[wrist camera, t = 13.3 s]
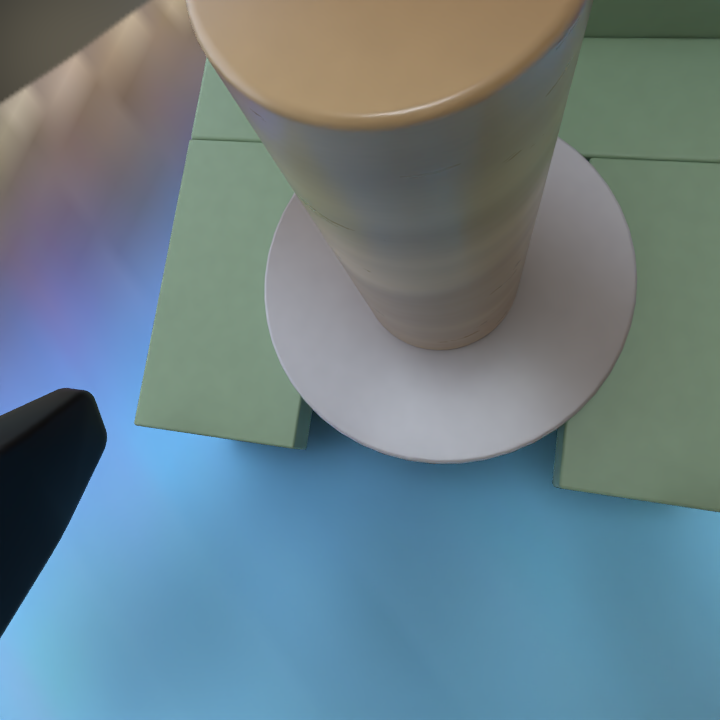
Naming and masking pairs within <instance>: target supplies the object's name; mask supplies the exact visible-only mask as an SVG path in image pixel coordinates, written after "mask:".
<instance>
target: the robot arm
mask: <svg viewBox="0 0 720 720" xmlns="http://www.w3.org/2000/svg"><path fill="white" fill-rule="evenodd" d="M106 442H107V433H106V429H105V426H104V423H103V421H102V418H101V415H100V412H99V409H98V407H97V404H96V401H95V399H94V397H93V395H92V394H91V393H90V392H88V391H85V390H78V389H70V388H62V389H58V390H56V391H54V392H51V393H49V394H47V395H45V396H43V397H41V398H38V399H36V400H34V401H32V402H30V403H27V404H25V405H23V406H21V407H19V408H16V409H14V410H12V411H10V412H8V413H6V414H3V415H1V416H0V638H1V636H2V635H3V633H4V631H5V630H6V628H7V626H8V625H9V623H10V622H11V620H12V618H13V617H14V615H15V613H16V612H17V610H18V608H19V607H20V605H21V604H22V602H23V600H24V599H25V597H26V595H27V594H28V592H29V590H30V589H31V587H32V586H33V584H34V582H35V581H36V579H37V577H38V576H39V574H40V573H41V571H42V569H43V568H44V566H45V564H46V563H47V561H48V559H49V558H50V556H51V555H52V553H53V551H54V549H55V548H56V546H57V544H58V543H59V541H60V539H61V537H62V535H63V533H64V531H65V530H66V528H67V526H68V524H69V522H70V520H71V518H72V516H73V514H74V511H75V509H76V507H77V505H78V503H79V501H80V499H81V497H82V495H83V493H84V491H85V489H86V487H87V485H88V482H89V480H90V478H91V476H92V474H93V472H94V470H95V468H96V466H97V464H98V462H99V460H100V458H101V456H102V453H103V451H104V449H105V446H106Z"/></svg>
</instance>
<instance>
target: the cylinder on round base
mask: <svg viewBox="0 0 720 720" xmlns="http://www.w3.org/2000/svg"><path fill="white" fill-rule="evenodd" d="M185 3H186V7H187V11H188V15H189V19H190V23H191V26H192V28H193V31H194V33H195V35H196V38H197V40H198V43H199V45H200V47H201V48H202V50H203V51H204V53H205V55H206V56H207V58H208V60H209V61H210V63H211V64H212V66H213V68H214V69H215V71H216V72H217V74H218V75H219V77H220V78H221V80H222V81H223V83H224V84H225V86H226V88H227V89H228V91H229V92H230V94H231V95H232V97H233V98H234V100H235V101H236V103H237V104H238V106H239V107H240V109H241V111H242V112H243V114H244V115H245V117H246V118H247V120H248V121H249V123H250V124H251V126H252V127H253V129H254V131H255V132H256V134H257V135H258V137H259V138H260V140H261V141H262V143H263V144H264V146H265V147H266V149H267V151H268V152H269V154H270V155H271V157H272V158H273V160H274V161H275V163H276V164H277V166H278V167H279V169H280V170H281V172H282V174H283V175H284V177H285V178H286V180H287V181H288V183H289V184H290V186H291V187H292V189H293V190H294V192H295V193H294V194H293V196H292V198H291V199H290V201H289V203H288V205H287V206H286V208H285V210H284V211H283V213H282V216H281V218H280V221H279V223H278V225H277V228H276V230H275V232H274V236H273V239H272V243H271V246H270V250H269V253H268V259H267V266H266V272H265V293H264V300H265V309H266V318H267V324H268V328H269V332H270V336H271V340H272V343H273V346H274V349H275V351H276V354H277V356H278V359H279V361H280V364H281V365H282V367H283V369H284V371H285V373H286V374H287V376H288V378H289V380H290V382H291V383H292V385H293V386H294V387H295V389H296V390H297V391H298V393H299V394H300V395H301V397H302V398H303V399H304V401H305V402H306V403H307V404H308V405H309V406H310V407H311V408H312V409H313V410H314V411H315V412H316V413H317V414H318V415H319V416H320V417H321V418H322V419H323V420H324V421H326V422H327V423H328V424H330V425H331V426H332V427H334V428H335V429H336V430H337V431H339V432H340V433H342V434H343V435H345V436H347V437H349V438H350V439H352V440H354V441H355V442H357V443H359V444H361V445H363V446H365V447H368V448H370V449H372V450H375V451H377V452H380V453H382V454H385V455H389V456H392V457H396V458H400V459H404V460H408V461H415V462H423V463H431V464H461V463H468V462H475V461H483V460H487V459H491V458H494V457H498V456H501V455H505V454H509V453H511V452H514V451H516V450H518V449H521V448H523V447H525V446H528V445H530V444H532V443H535V442H536V441H538V440H540V439H541V438H543V437H545V436H546V435H548V434H550V433H551V432H553V431H555V430H556V429H558V428H559V427H560V426H562V425H563V424H564V423H565V422H567V421H568V420H569V419H570V418H572V417H573V416H574V415H575V414H577V413H578V412H579V411H580V410H581V409H582V408H583V406H584V405H585V404H586V403H587V402H588V401H589V400H590V399H591V398H592V397H593V396H594V395H595V394H596V392H597V391H598V390H599V388H600V387H601V386H602V384H603V383H604V381H605V380H606V379H607V377H608V376H609V374H610V373H611V371H612V369H613V367H614V365H615V364H616V362H617V360H618V358H619V356H620V354H621V352H622V350H623V347H624V345H625V342H626V339H627V336H628V333H629V331H630V328H631V324H632V319H633V314H634V309H635V304H636V291H637V269H636V257H635V250H634V246H633V242H632V238H631V234H630V229H629V227H628V224H627V222H626V219H625V217H624V214H623V212H622V209H621V207H620V205H619V203H618V201H617V200H616V198H615V196H614V194H613V193H612V191H611V189H610V187H609V186H608V184H607V183H606V182H605V181H604V179H603V178H602V177H601V175H600V174H599V173H598V172H597V170H596V169H595V168H594V167H593V166H592V165H591V164H590V163H589V162H588V161H587V160H586V159H585V158H584V157H583V156H582V155H581V154H580V153H579V152H578V151H577V150H576V149H575V148H573V147H572V146H570V145H569V144H568V143H566V142H565V141H564V140H562V139H561V138H560V137H558V134H559V130H560V126H561V122H562V118H563V114H564V111H565V107H566V103H567V99H568V95H569V91H570V88H571V84H572V80H573V76H574V72H575V69H576V65H577V61H578V57H579V53H580V49H581V46H582V42H583V38H584V34H585V30H586V27H587V23H588V19H589V15H590V11H591V7H592V4H593V0H185Z"/></svg>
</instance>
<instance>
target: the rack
mask: <svg viewBox="0 0 720 720" xmlns="http://www.w3.org/2000/svg"><path fill="white" fill-rule="evenodd" d="M558 137H560V138H561V139H562V140H564V141H565V142H566V143H568V144H569V145H570V146H572V147H573V148H575V149H576V150H577V151H578V152H579V153H580V154H581V155H582V156H583V157H584V158H585V159H586V160H587V161H588V162H589V163H590V164H591V165H592V166H593V167H594V168H595V169H596V170H597V172H598V173H599V174H600V175H601V177H602V178H603V179H604V181H605V182H606V183H607V184H608V186H609V187H610V189H611V191H612V193H613V194H614V196H615V198H616V200H617V201H618V203H619V205H620V207H621V209H622V212H623V214H624V217H625V219H626V222H627V224H628V227H629V229H630V234H631V238H632V242H633V246H634V250H635V257H636V269H637V291H636V304H635V309H634V314H633V319H632V324H631V328H630V331H629V333H628V336H627V339H626V342H625V345H624V347H623V350H622V352H621V354H620V356H619V358H618V360H617V362H616V364H615V365H614V367H613V369H612V371H611V373H610V374H609V376H608V377H607V379H606V380H605V381H604V383H603V384H602V386H601V387H600V388H599V390H598V391H597V392H596V394H595V395H594V396H593V397H592V398H591V399H590V400H589V401H588V402H587V403H586V404H585V405H584V406H583V408H582V409H581V410H580V411H579V412H578V413H577V414H575V415H574V416H573V417H572V418H570V419H569V420H568V421H567V422H565V423H564V424H563V425H562V426H560V427H559V428H558V429H557V438H556V449H555V459H554V469H553V480H552V484H553V486H554V487H557V488H561V489H567V490H574V491H580V492H587V493H594V494H601V495H607V496H614V497H621V498H628V499H634V500H641V501H648V502H654V503H661V504H668V505H675V506H681V507H688V508H695V509H701V510H708V511H715V512H720V0H593V4H592V7H591V11H590V15H589V19H588V23H587V27H586V30H585V34H584V38H583V42H582V46H581V49H580V53H579V57H578V61H577V65H576V69H575V72H574V76H573V80H572V84H571V88H570V91H569V95H568V99H567V103H566V107H565V111H564V114H563V118H562V122H561V126H560V130H559V134H558ZM294 193H295V192H294V190H293V189H292V187H291V186H290V184H289V183H288V181H287V180H286V178H285V177H284V175H283V174H282V172H281V170H280V169H279V167H278V166H277V164H276V163H275V161H274V160H273V158H272V157H271V155H270V154H269V152H268V151H267V149H266V147H265V146H264V144H263V143H262V141H261V140H260V138H259V137H258V135H257V134H256V132H255V131H254V129H253V127H252V126H251V124H250V123H249V121H248V120H247V118H246V117H245V115H244V114H243V112H242V111H241V109H240V107H239V106H238V104H237V103H236V101H235V100H234V98H233V97H232V95H231V94H230V92H229V91H228V89H227V88H226V86H225V84H224V83H223V81H222V80H221V78H220V77H219V75H218V74H217V72H216V71H215V69H214V68H213V66H212V64H211V63H210V61H209V60H208V58H207V59H206V64H205V69H204V74H203V79H202V84H201V89H200V94H199V99H198V105H197V110H196V115H195V120H194V125H193V130H192V140H190V141H189V146H188V151H187V157H186V162H185V167H184V172H183V177H182V182H181V187H180V192H179V197H178V202H177V208H176V213H175V218H174V223H173V228H172V233H171V238H170V243H169V248H168V253H167V259H166V264H165V269H164V274H163V279H162V284H161V289H160V294H159V299H158V304H157V310H156V315H155V320H154V325H153V330H152V335H151V340H150V345H149V350H148V355H147V361H146V366H145V371H144V376H143V381H142V386H141V391H140V396H139V401H138V406H137V412H136V417H135V422H134V424H135V425H137V426H144V427H150V428H157V429H164V430H170V431H177V432H184V433H191V434H197V435H204V436H211V437H217V438H224V439H231V440H238V441H244V442H251V443H258V444H265V445H271V446H278V447H285V448H291V449H302V450H304V449H306V448H307V442H308V436H309V429H310V423H311V416H312V410H313V409H312V408H311V407H310V406H309V405H308V404H307V403H306V402H305V401H304V399H303V398H302V397H301V395H300V394H299V393H298V391H297V390H296V389H295V387H294V386H293V385H292V383H291V382H290V380H289V378H288V376H287V374H286V373H285V371H284V369H283V367H282V365H281V364H280V361H279V359H278V356H277V354H276V351H275V349H274V346H273V343H272V340H271V336H270V332H269V328H268V324H267V318H266V309H265V300H264V293H265V272H266V266H267V259H268V253H269V250H270V246H271V243H272V239H273V236H274V232H275V230H276V228H277V225H278V223H279V221H280V218H281V216H282V213H283V211H284V210H285V208H286V206H287V205H288V203H289V201H290V199H291V198H292V196H293V194H294Z"/></svg>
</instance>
